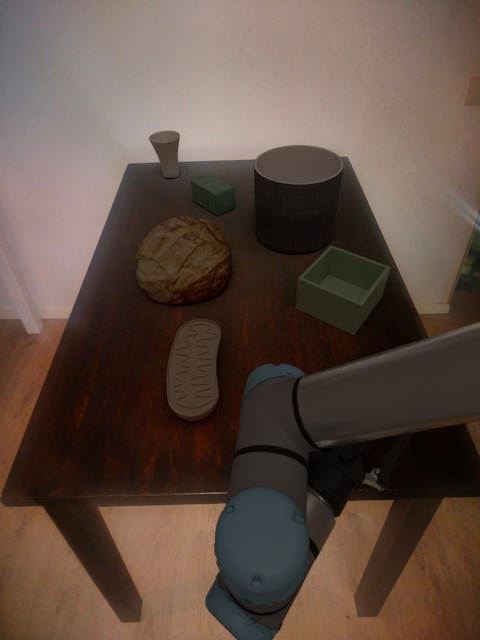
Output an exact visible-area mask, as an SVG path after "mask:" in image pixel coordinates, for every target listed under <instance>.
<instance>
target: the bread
mask: <svg viewBox="0 0 480 640" xmlns="http://www.w3.org/2000/svg"><path fill="white" fill-rule="evenodd" d="M134 259H135V264H136V266H137V269H136V270H135V271H136V272H135V275H136V279H137V282H138V285H139V287H140V288H141V289H143V291H144V292H145V293H146V294H147V297H148V298H149V299H151V300H153V301H155V302H157V303H159V304H167V305H187V304H192V303H199V302H203V301H206V300H209V299H212V298H214V297H215V296H218V295H219V294H220V293H222V292H223V291H224V290H226V288H228V284H229V283H230V282H229V281H230V280H231V277H232V274H235V272H234V271H233V268H232V266H233V251H232V247H231V245H230V243H229V240H228V238H227V237H226V236H225V234H224V233H223V231H220V229H219V227H218V226H217V225H216V224H215V223H214V222H213V221H212V220H210V219H206V218H193V217H192V216H189V215H188V214H184V215H180V216H175V217H172V218H169V219H167V220H164V221H162V222H161V223H157V225H155V226H154V227H153V228H152V229H151V231H150V232H149V233H148V234H147V235H146V236H145V238H144V239H143V240H142V242H141V244H140V246H139V248H138V250H137V251H136V253H135V257H134Z"/></svg>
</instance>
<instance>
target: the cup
mask: <svg viewBox="0 0 480 640" xmlns="http://www.w3.org/2000/svg"><path fill="white" fill-rule="evenodd" d="M180 139H181V134H180V132H178V131H175V130H161V131H160V130H159V131H157V132H154V133H152V134H151V135H150V136H149V137H148V140H149V142H150V144H151V146H152V148H153V150H154V151H155V154H156V155H157V158H158V161H159V164H160V168H161V173H162V172H163V173H165V174H173V173H176V172H178V171H179V170H180V167H179V147H180Z"/></svg>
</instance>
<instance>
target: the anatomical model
mask: <svg viewBox="0 0 480 640" xmlns="http://www.w3.org/2000/svg"><path fill="white" fill-rule="evenodd" d="M221 339H222V330H221V328H220V326H219V324H217V323H216V322H215V321H213V320H210V319H208V318H195V319H191V320H189V321H187V322H185V323H183V324H182V325H181V326H180V327H179V329H178V330H177V332H176V334H175V337H174V340H173V343H172V346H171V349H170V353H169V356H168V361H167V369H166V397H167V398H166V399H167V403H168V406H169V407H170V409H171V411H172V412H173V413H174V415H176V416H177V417H178V418H180V419H182V420H184V421H188V422H197V421H201V420H203V419H205V418H207V417H208V416H210V415H211V414H212V413H213V412H214V410H215V409H216V408H217V404H218V402H219V397H220V392H219V383H218V378H217V377H218V376H217V359H218V353H219V349H220V344H221V341H222V340H221Z"/></svg>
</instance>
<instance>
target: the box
mask: <svg viewBox="0 0 480 640" xmlns="http://www.w3.org/2000/svg"><path fill="white" fill-rule="evenodd" d="M190 188H191V194H192V195H191V197H192V201H193V202H194V203H195V204H197V205H199V206H200V207H202V208H204V209H205V210H207V211H208V212H210V213H212V214H213V215H214V216H216V217H220V216H222V215H224V214H226V213H229V212H230V211H232V210H234V209H235V208H236V189H235V187H234V186H232V185H231V184H229V183H227V182H225V181H223V180H221V179H220V178H219V177H216V176H215V175H213V174H211V173H209V172H208V173H205V174H203V175H199V176H197V177H193V178H192V179H190ZM193 199H194V200H193ZM195 200H196V201H197V202H196V201H195ZM198 202H199V203H198ZM201 204H202V205H201Z"/></svg>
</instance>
